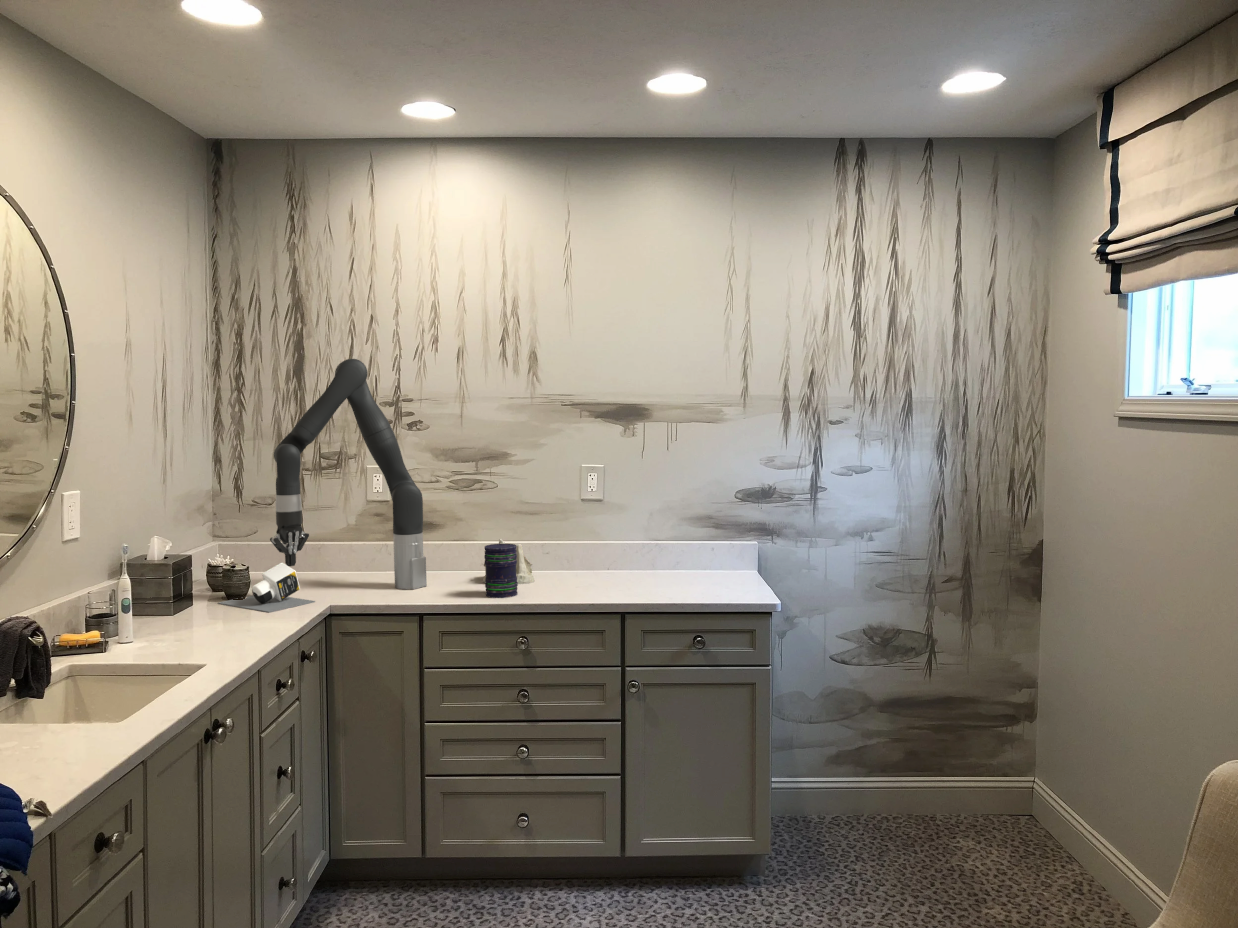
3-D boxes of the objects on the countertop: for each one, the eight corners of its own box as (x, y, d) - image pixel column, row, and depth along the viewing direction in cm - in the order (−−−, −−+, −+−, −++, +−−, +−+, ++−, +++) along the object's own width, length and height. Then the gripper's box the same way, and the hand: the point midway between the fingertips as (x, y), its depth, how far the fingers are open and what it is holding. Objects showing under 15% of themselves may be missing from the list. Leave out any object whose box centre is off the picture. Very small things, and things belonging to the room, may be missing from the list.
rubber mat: (315, 601, 281) (315, 600, 281) (269, 612, 267) (268, 611, 267) (264, 593, 294) (264, 592, 294) (217, 603, 280) (217, 602, 280)
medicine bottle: (300, 589, 284) (266, 610, 276) (286, 580, 288) (252, 600, 280) (296, 570, 280) (260, 591, 272) (282, 561, 284) (246, 581, 276)
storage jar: (517, 597, 283) (516, 548, 282) (484, 598, 282) (482, 548, 281) (518, 590, 293) (517, 543, 291) (486, 591, 292) (485, 543, 291)
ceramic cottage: (537, 582, 304) (534, 536, 304) (486, 588, 300) (482, 541, 300) (529, 577, 319) (526, 533, 319) (480, 582, 315) (477, 537, 315)
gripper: (278, 512, 279) (280, 570, 280) (314, 507, 290) (316, 563, 291) (262, 510, 283) (264, 568, 284) (299, 506, 294) (300, 561, 295)
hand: (290, 565), depth 288 cm, fingers closed
